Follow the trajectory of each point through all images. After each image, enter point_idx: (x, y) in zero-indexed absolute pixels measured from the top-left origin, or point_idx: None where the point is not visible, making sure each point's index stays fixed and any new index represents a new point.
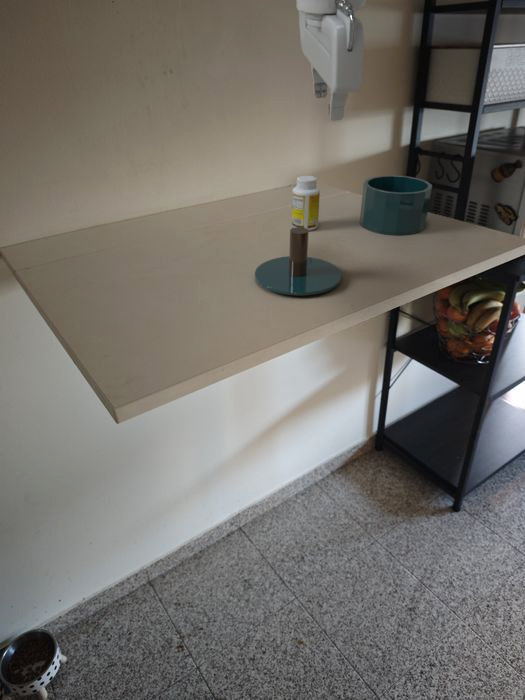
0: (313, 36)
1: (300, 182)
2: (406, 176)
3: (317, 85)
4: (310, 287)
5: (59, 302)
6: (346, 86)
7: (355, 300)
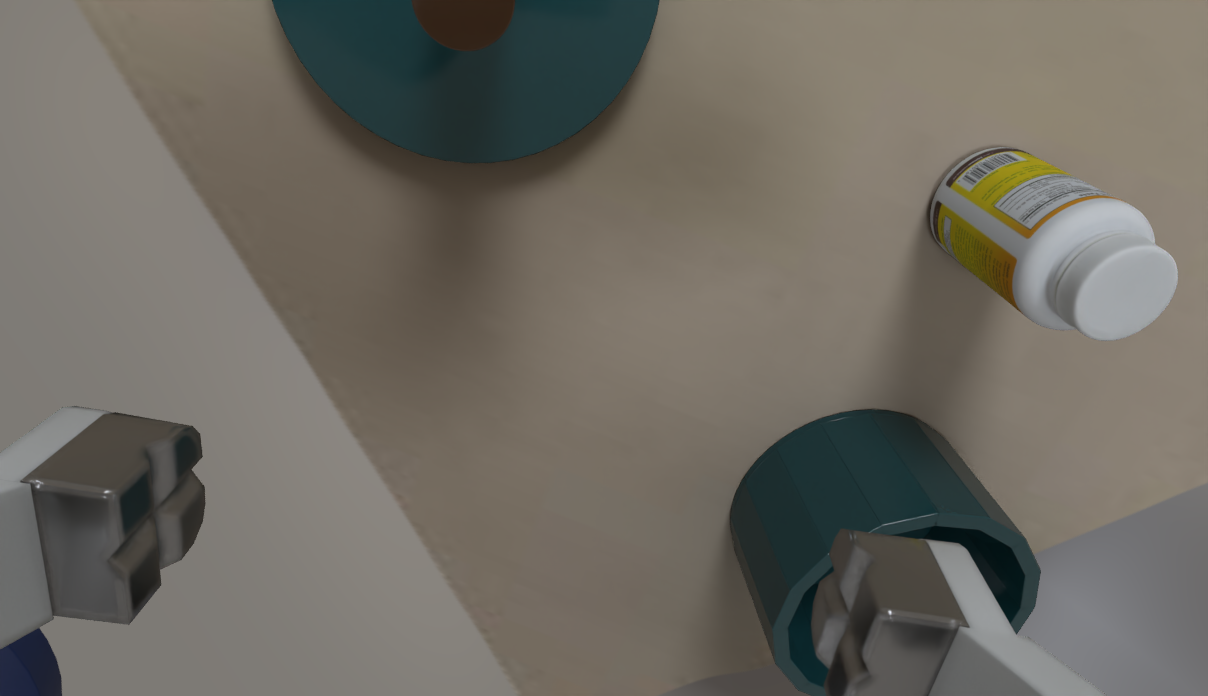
0: None
1: (1108, 250)
2: None
3: (880, 635)
4: None
5: None
6: None
7: (233, 132)
